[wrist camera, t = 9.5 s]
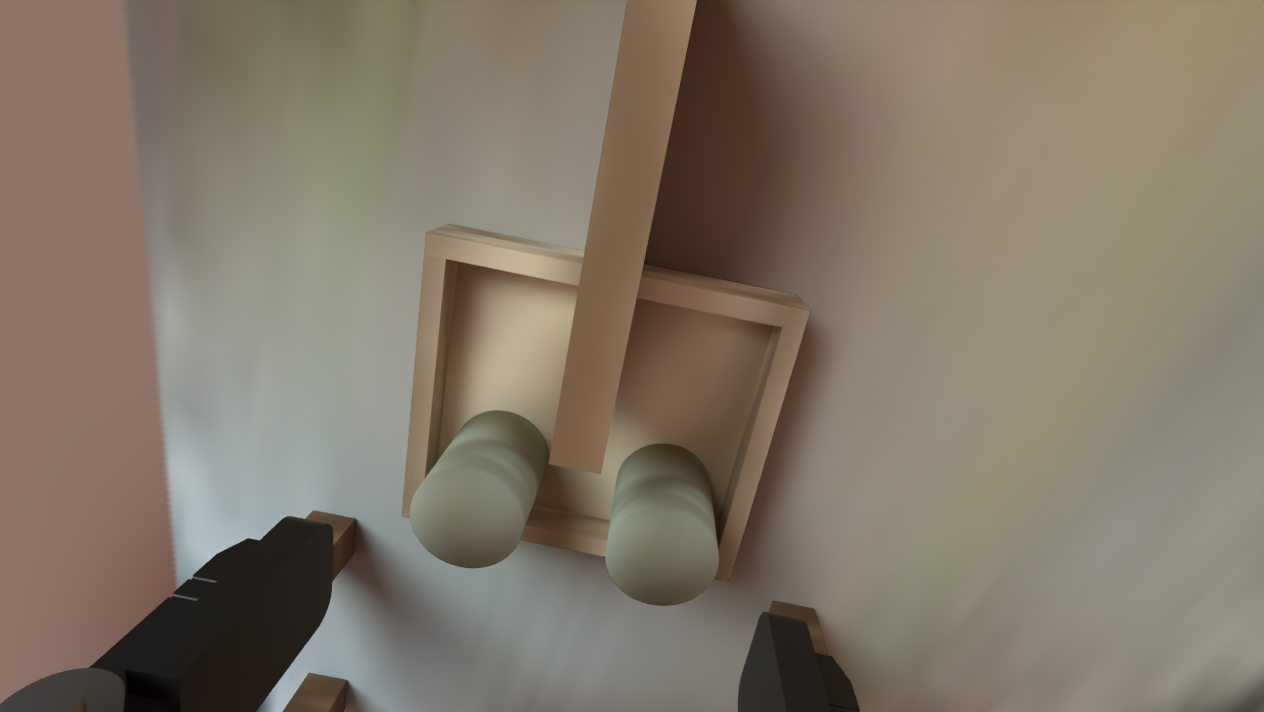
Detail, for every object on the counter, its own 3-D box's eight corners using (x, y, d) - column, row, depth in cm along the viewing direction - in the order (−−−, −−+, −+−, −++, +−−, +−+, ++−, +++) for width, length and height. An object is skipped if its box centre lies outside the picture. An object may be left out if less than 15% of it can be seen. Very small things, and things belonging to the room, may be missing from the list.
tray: (886, -17, 21) (1007, -104, 14) (724, 545, 29) (744, 689, 21) (480, -102, 21) (375, -239, 13) (423, 485, 29) (335, 609, 21)
